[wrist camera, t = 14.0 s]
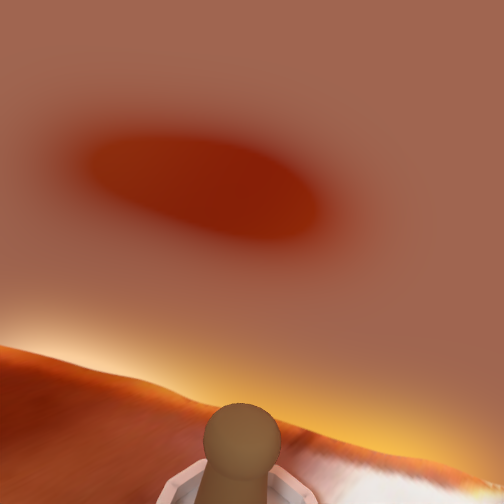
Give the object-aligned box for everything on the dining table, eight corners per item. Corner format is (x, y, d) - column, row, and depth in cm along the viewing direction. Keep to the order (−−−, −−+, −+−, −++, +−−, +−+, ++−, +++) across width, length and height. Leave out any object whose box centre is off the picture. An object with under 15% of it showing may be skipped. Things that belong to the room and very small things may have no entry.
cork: (246, 496, 39) (267, 384, 35) (279, 564, 34) (308, 443, 30) (174, 514, 37) (188, 397, 33) (198, 591, 32) (218, 463, 28)
